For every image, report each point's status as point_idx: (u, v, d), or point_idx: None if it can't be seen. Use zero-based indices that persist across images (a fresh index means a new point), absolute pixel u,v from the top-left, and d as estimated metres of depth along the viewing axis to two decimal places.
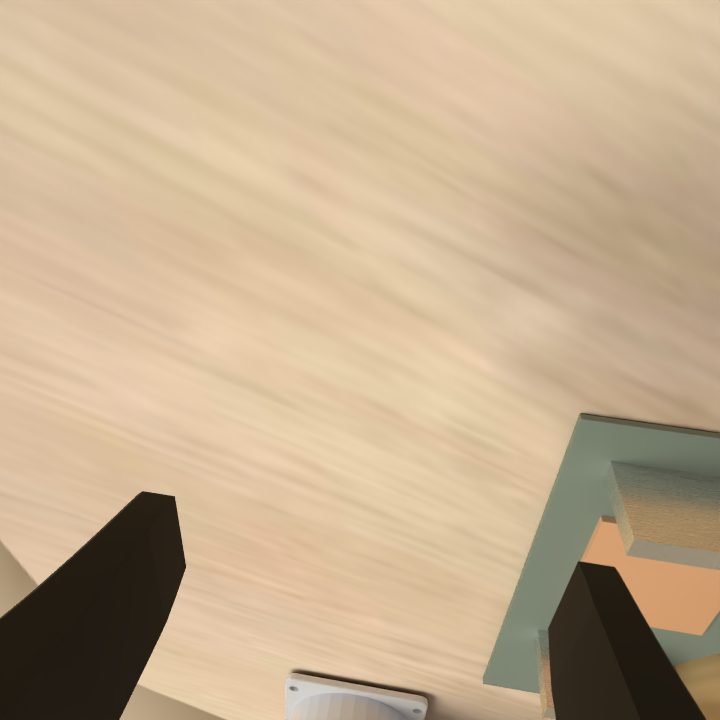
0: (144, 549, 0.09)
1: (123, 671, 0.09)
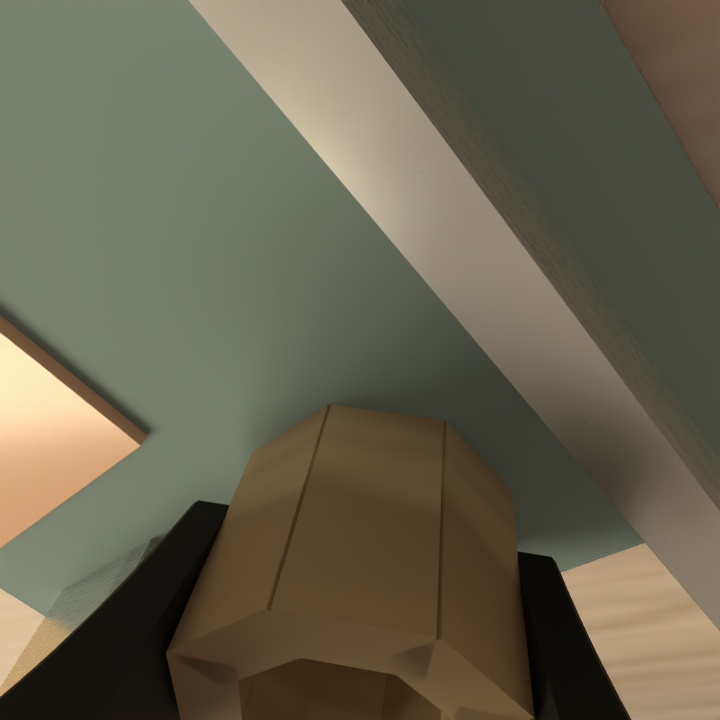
0: (206, 559, 0.09)
1: None
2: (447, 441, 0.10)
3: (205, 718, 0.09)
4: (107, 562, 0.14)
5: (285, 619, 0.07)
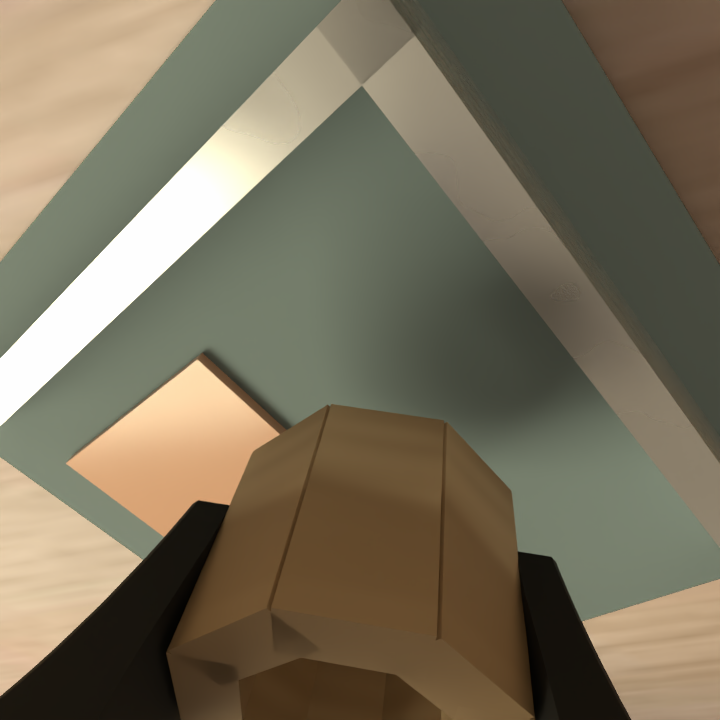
0: (205, 559, 0.09)
1: None
2: (447, 441, 0.10)
3: (206, 718, 0.09)
4: None
5: (285, 619, 0.07)
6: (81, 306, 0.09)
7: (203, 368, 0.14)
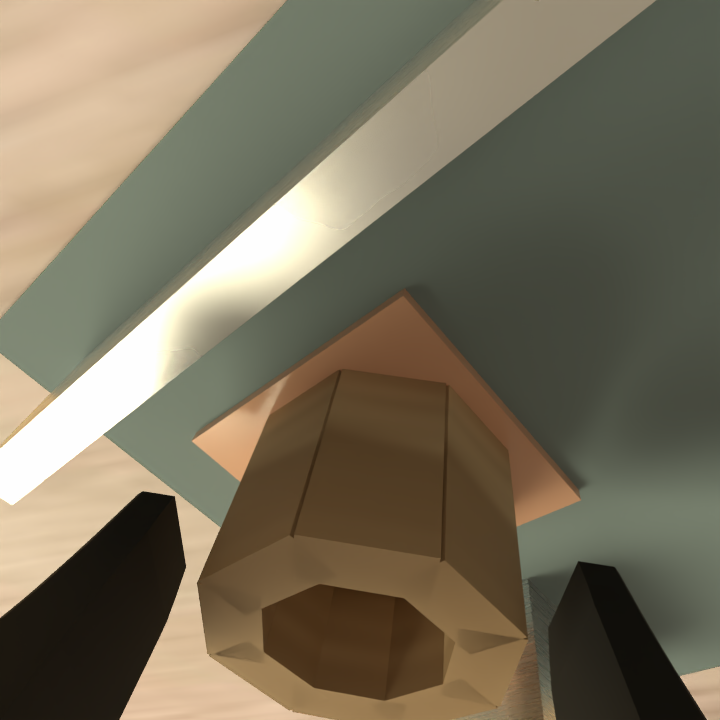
0: (144, 549, 0.09)
1: (123, 671, 0.09)
2: (449, 401, 0.11)
3: (230, 649, 0.10)
4: None
5: (306, 546, 0.08)
6: (372, 162, 0.06)
7: (409, 308, 0.10)
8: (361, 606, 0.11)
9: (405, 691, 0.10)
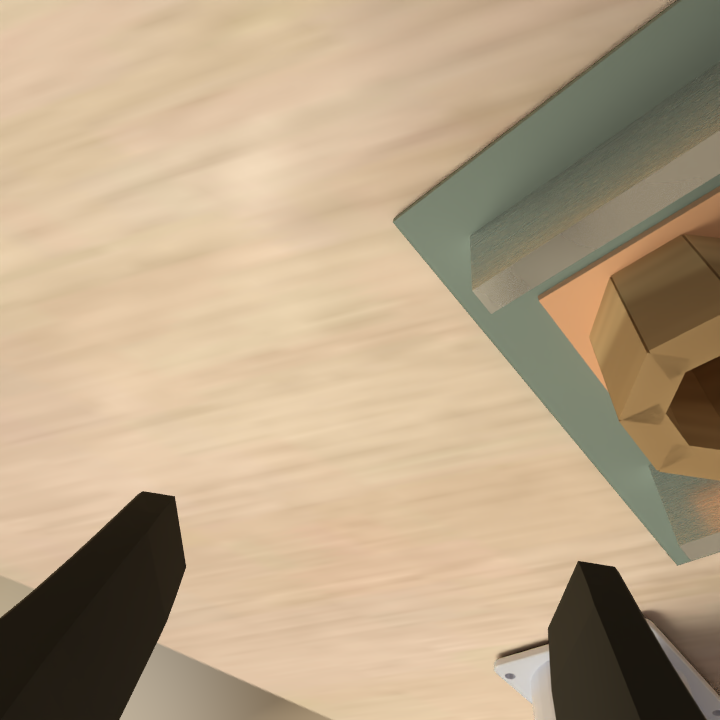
0: (144, 549, 0.09)
1: (123, 671, 0.09)
2: None
3: (640, 413, 0.14)
4: None
5: None
6: None
7: None
8: (691, 407, 0.16)
9: None
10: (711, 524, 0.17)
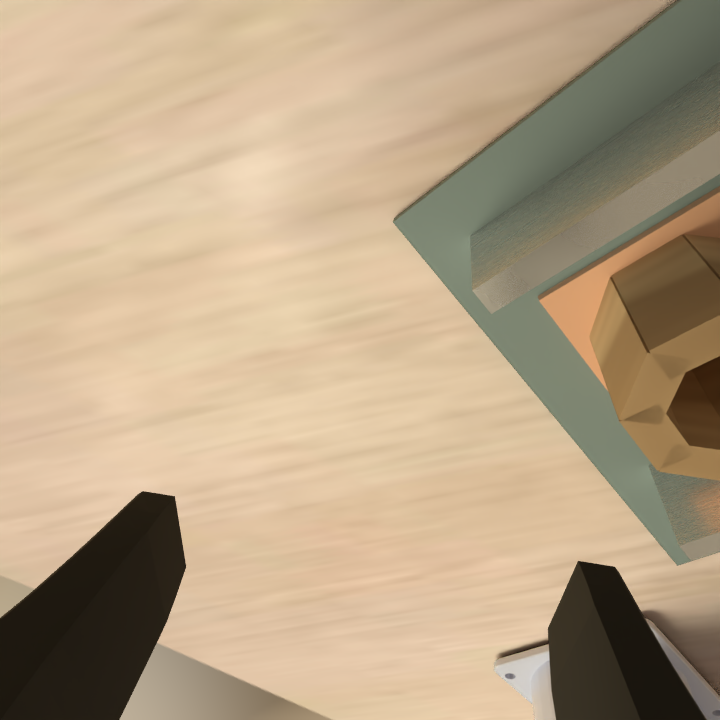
0: (144, 548, 0.09)
1: (123, 671, 0.09)
2: None
3: (640, 413, 0.14)
4: None
5: None
6: None
7: None
8: (691, 407, 0.16)
9: None
10: (711, 524, 0.17)
